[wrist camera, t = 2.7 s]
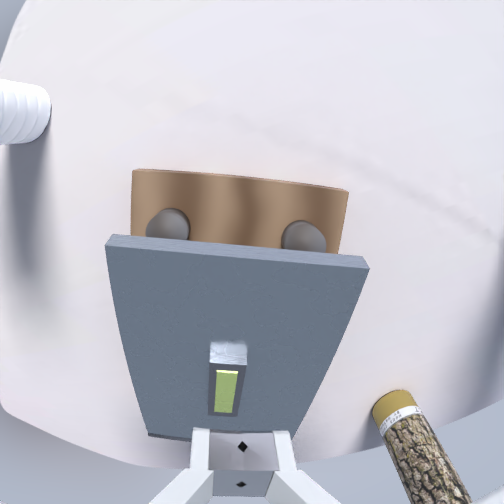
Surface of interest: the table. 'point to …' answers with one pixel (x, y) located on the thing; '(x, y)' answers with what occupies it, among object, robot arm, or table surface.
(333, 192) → the leveling base
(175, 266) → the plate
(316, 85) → the table surface
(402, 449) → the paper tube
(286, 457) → the robot arm
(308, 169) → the table surface
